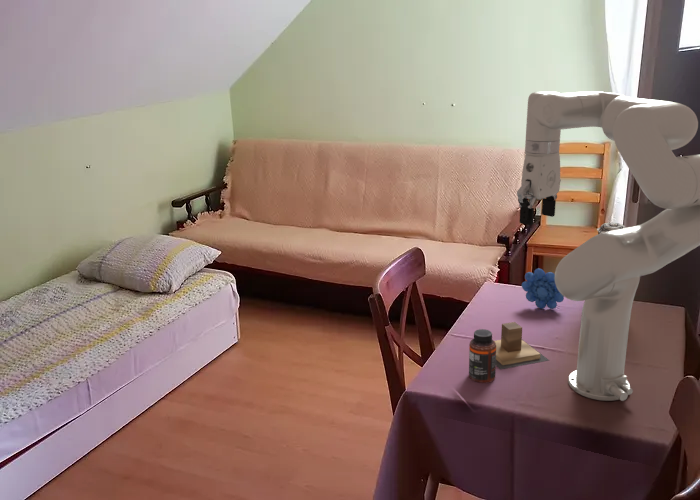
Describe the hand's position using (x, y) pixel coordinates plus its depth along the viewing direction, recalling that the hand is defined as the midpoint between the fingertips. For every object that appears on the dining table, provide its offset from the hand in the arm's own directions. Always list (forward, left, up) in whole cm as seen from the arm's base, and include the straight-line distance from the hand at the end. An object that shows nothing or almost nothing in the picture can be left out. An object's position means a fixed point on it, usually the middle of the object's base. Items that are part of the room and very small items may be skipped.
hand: (537, 219), depth 149 cm
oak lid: (-3, +7, -32) cm, 33 cm away
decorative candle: (+11, -31, -33) cm, 46 cm away
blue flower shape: (+18, -15, -33) cm, 40 cm away
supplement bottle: (-11, +19, -33) cm, 40 cm away
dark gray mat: (-3, +7, -32) cm, 33 cm away
